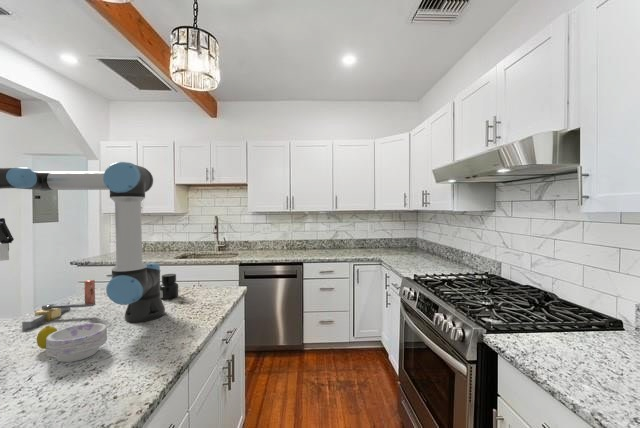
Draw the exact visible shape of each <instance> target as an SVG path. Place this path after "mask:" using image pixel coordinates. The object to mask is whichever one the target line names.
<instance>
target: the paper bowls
mask: <svg viewBox="0 0 640 428" xmlns="http://www.w3.org/2000/svg"><path fill="white" fill-rule="evenodd" d="M107 328H108V326H107V325H106V324H104V323H101V322H99V323H96V322H93V323H82V324H75V325H72V326H68V327H65V328H62V329H61V328H60V329H57V330H58V331H56V332H53V333H51V334H50V335H49V336H48V337H47V338H46V349H45V351H46V355H48V356H49V357H55V359H56V361H59V362H62V363H71V362H77V361H81V360H83V359H84V360H85V359H87V358H89V357H91V356H93V355H95V354H97V352H98V351H99V349H100V347H101V346H104V344H106V343H107V340H108V329H107Z"/></svg>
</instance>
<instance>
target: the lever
mask: <svg viewBox="0 0 640 428" xmlns="http://www.w3.org/2000/svg"><path fill="white" fill-rule="evenodd" d="M83 286H84V302H82V303H80V302H79V303H70V304H61V303H58V304H54V303H50V304H49V303H48V304H44V305H42V306H41V310H48V309H55V308H70V309H71V308H88V307H90V308H91V307H94V306H96V287H95V286H96V282H95V279H89V280H88V279H87V280H84V285H83Z"/></svg>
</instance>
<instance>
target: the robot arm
mask: <svg viewBox="0 0 640 428" xmlns="http://www.w3.org/2000/svg"><path fill="white" fill-rule="evenodd" d="M153 185H154V177H153V175H152V173H151V171H150V170H148V169H147V168H145V167H144V166H140V165H137V164H134V163H132V162H128V161H117V162H114V163H112V164H110V165H109V166H108V167H107V168H105V170H104V171H37V170H36V171H35V170H33V169H31V168H29V167H20V166H16V167H4V168H3V167H0V190H1V189H17V190H19V189H20V190H33V191H34V190H35V191H43V192H45V191H46V192H47V191H105V190H106V191H109V199H111V200H112V201H113V202H114V223H115V225H114V226H115V253H116V254H115V258H116V259H115V261H116V262H115V263H116V264H115V266H113V268H111V279H110V280H109V281H108V283H107V285H106V295H107V297H108V299H109V300H110V301H112V302H113V303H115V304H117V305H121V306H126V305H127V307H126V310H125V313H124V320H125V321H126V322H129V323H143V322H149V321H152V320H156V319H159V318H162V317H163V316H164V315H165V312H166V309H165V306H164V302H163V300H161V297H160V285H161V267H160V264H159V263H157V262H156V263H152V262H151V263H149V262H148V263H144V262H143V240H142V239H143V236H142V235H143V234H142V230H143V229H142V202H143V201H144V199H146V193H147V192H148V191H150V190H151V189H152V187H153ZM14 239H15V238H14V236H13V234H12V233H11V231H10V229H9V228H8V226H7V224H6V219H5V218H3V217H0V261H1V262H2V261H9V260H10V255H9V254H10V253H9V252H10V245H9V244H12V243H13V241H14Z"/></svg>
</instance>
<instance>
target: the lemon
mask: <svg viewBox="0 0 640 428" xmlns="http://www.w3.org/2000/svg"><path fill="white" fill-rule="evenodd" d="M58 330H59V329H57V328H56V327H55V326H50V325H47V326H45V327H44V328H42V329H41V330H39V332H38V334H37V335H36V344H37V346H38V347H39V348H40V349H43V350H46V338H47V337H48V336H49V335H50V334H51V333H53V332H56V331H58Z"/></svg>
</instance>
